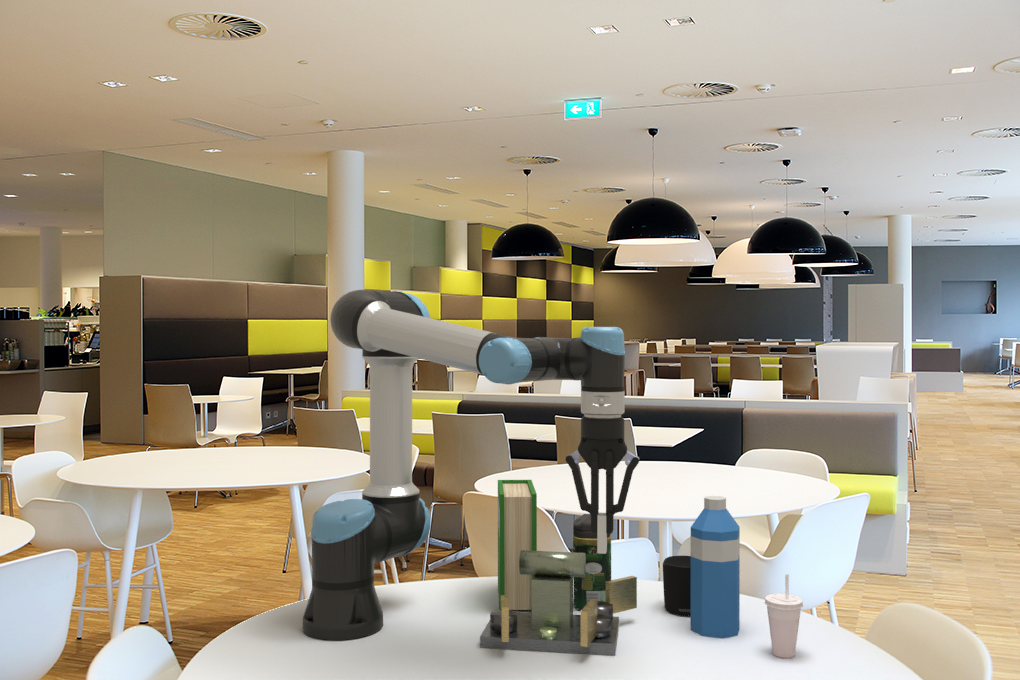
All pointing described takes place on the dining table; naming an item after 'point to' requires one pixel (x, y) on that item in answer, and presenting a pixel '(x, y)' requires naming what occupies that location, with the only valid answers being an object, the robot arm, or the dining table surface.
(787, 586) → the smoothie
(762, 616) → the dining table surface
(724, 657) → the dining table surface
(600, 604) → the knob rear
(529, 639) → the base
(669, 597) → the black smart speaker
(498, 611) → the knob left
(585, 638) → the knob right
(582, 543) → the coffee jar
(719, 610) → the water bottle
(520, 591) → the hardback book
